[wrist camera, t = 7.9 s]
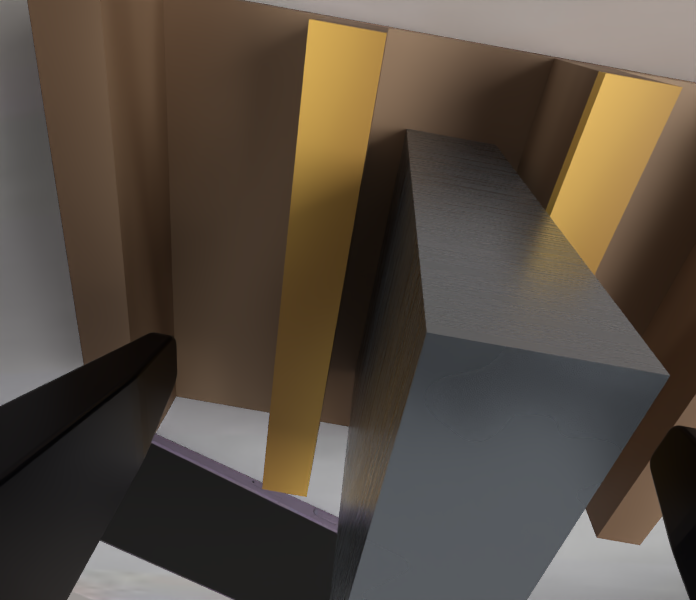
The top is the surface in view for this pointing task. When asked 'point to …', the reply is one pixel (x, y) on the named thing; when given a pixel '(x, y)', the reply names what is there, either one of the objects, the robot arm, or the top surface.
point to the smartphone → (223, 529)
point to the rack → (340, 198)
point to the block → (479, 388)
